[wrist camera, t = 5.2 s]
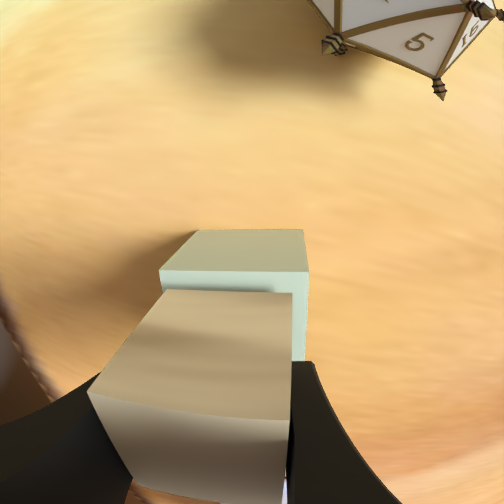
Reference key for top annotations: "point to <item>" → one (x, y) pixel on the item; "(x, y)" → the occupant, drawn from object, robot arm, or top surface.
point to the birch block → (204, 396)
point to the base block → (246, 269)
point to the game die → (407, 30)
